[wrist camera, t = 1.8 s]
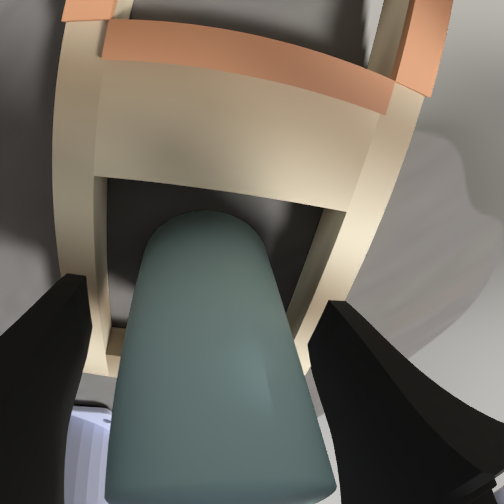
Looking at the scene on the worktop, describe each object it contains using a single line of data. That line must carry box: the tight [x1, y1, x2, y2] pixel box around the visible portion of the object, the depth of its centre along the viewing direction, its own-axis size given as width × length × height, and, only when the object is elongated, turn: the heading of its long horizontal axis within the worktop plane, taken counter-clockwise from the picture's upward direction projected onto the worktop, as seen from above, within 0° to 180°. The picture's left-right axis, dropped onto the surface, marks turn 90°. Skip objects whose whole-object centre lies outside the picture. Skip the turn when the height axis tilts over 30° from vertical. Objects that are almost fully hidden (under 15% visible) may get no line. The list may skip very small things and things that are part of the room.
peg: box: [104, 210, 337, 504], centre depth 8 cm, size 4×4×8 cm
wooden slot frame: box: [52, 0, 453, 378], centre depth 8 cm, size 21×10×2 cm, turn 167°
